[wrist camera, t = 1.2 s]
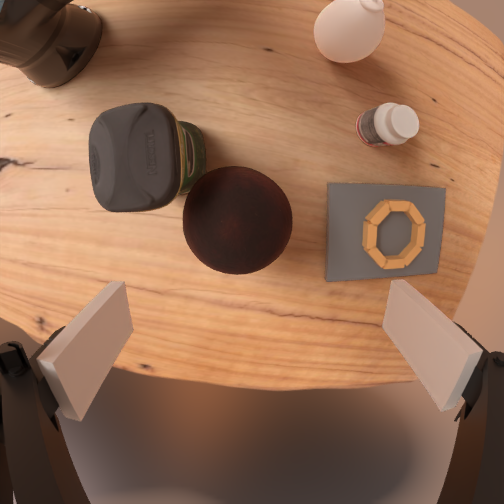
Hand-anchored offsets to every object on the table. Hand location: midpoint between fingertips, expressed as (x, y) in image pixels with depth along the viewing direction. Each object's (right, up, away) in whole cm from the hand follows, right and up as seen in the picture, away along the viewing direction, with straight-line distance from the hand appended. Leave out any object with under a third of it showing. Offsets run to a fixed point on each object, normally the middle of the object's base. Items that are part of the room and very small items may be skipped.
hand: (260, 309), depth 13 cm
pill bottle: (+16, +20, +22) cm, 34 cm away
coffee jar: (-10, +15, +24) cm, 30 cm away
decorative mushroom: (-2, +9, +26) cm, 27 cm away
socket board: (+20, +6, +27) cm, 34 cm away
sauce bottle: (+11, +31, +19) cm, 38 cm away
